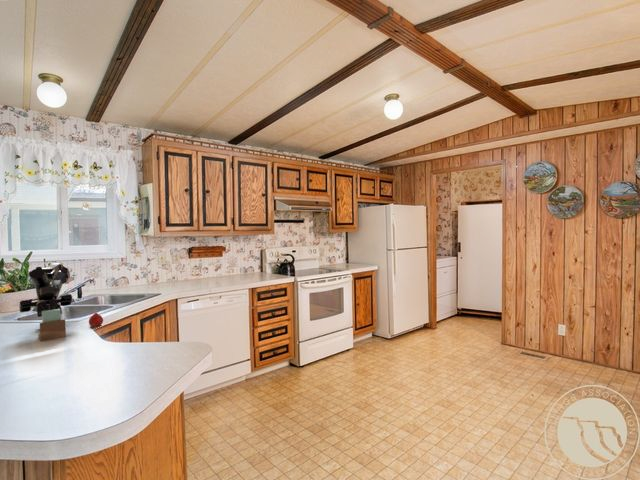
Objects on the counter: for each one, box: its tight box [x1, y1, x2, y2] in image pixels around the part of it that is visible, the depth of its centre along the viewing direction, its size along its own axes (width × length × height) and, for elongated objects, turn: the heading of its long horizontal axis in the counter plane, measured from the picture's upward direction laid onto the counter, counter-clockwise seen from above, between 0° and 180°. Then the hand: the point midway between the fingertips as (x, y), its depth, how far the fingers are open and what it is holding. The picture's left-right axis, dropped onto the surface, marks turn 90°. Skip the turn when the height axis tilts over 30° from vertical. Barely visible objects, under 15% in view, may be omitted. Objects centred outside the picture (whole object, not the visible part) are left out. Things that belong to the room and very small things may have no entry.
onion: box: [88, 311, 104, 328], centre depth 167 cm, size 6×6×8 cm
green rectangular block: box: [41, 309, 62, 323], centre depth 149 cm, size 3×6×12 cm, turn 136°
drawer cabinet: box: [37, 318, 67, 343], centre depth 152 cm, size 14×9×9 cm, turn 46°
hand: (49, 318), depth 154 cm, fingers closed
